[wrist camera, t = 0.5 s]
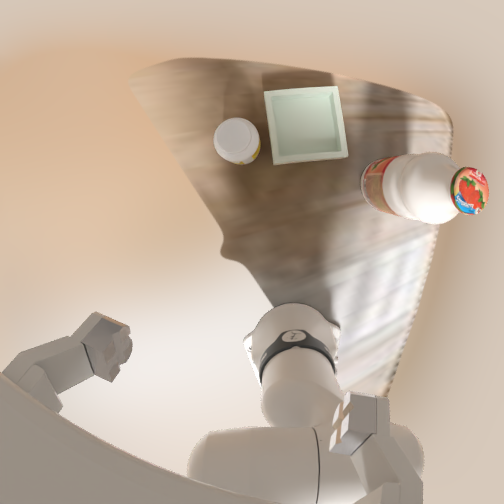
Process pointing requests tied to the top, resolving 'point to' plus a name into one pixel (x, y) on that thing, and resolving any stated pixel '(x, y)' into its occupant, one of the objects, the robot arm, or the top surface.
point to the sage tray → (305, 125)
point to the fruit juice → (424, 187)
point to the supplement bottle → (237, 141)
